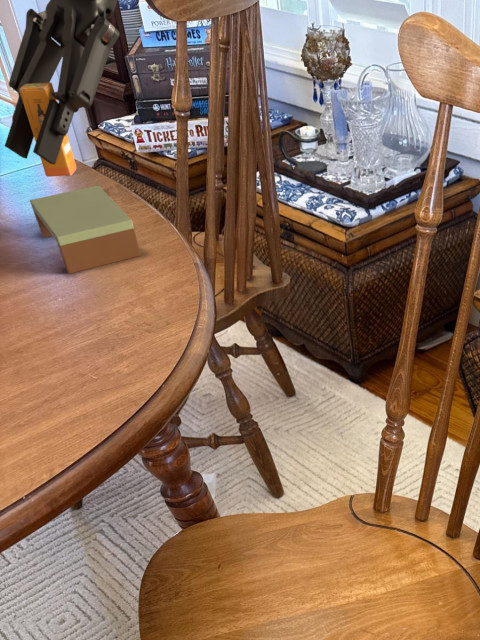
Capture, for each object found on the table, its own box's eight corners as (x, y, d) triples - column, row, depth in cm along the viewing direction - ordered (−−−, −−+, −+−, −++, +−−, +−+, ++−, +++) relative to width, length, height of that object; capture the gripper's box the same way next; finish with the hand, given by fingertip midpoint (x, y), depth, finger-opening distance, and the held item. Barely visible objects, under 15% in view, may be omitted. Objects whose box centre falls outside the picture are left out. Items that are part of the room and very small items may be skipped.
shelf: (41, 234, 115) (29, 199, 112) (108, 218, 119) (98, 185, 116) (69, 273, 105) (56, 237, 102) (141, 255, 109) (131, 219, 106)
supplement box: (78, 167, 101) (53, 80, 94) (71, 177, 98) (45, 88, 91) (52, 168, 101) (26, 81, 94) (45, 177, 98) (16, 89, 91)
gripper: (164, -5, 94) (103, 182, 95) (63, -14, 101) (7, 161, 102) (121, -53, 87) (55, 148, 88) (15, -59, 94) (-45, 128, 95)
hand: (29, 154), depth 95 cm, fingers closed on supplement box, 4 cm apart
